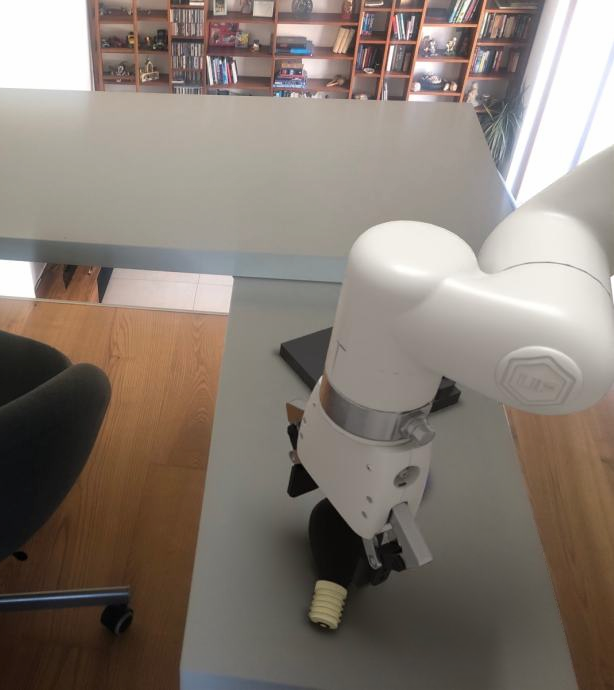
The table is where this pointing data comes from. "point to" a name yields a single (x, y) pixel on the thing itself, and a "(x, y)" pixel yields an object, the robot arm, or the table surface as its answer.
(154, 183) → the table surface
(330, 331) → the scale
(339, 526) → the light bulb
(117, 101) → the table surface
